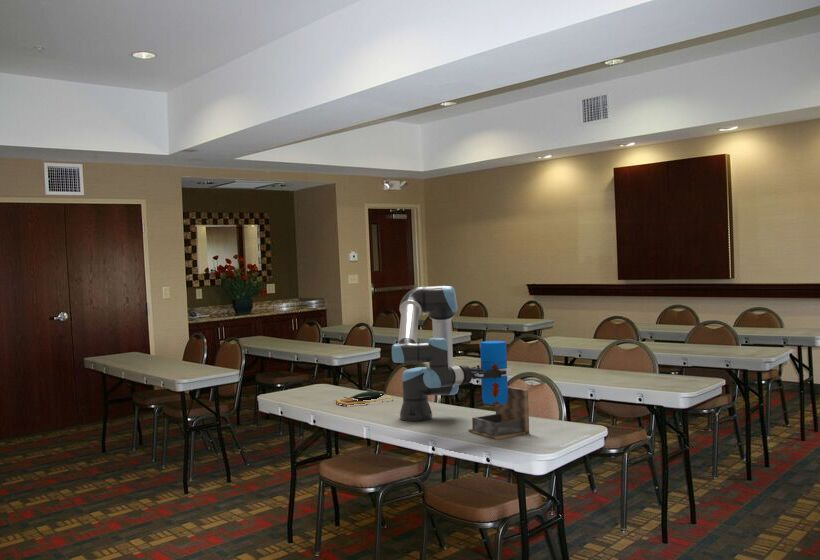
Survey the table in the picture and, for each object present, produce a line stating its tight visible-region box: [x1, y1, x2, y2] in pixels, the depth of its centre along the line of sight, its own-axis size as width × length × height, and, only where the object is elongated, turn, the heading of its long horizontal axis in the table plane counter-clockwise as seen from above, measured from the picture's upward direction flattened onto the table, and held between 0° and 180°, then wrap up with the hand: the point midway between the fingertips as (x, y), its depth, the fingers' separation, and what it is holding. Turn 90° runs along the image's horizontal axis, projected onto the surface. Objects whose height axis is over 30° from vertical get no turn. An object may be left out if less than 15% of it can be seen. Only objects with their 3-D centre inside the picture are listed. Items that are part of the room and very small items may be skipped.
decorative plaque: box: [335, 388, 392, 406], centre depth 377 cm, size 30×7×20 cm
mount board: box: [467, 386, 530, 440], centre depth 294 cm, size 19×17×18 cm
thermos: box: [479, 340, 509, 406], centre depth 293 cm, size 11×11×25 cm
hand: (501, 370), depth 295 cm, fingers closed on thermos, 11 cm apart
